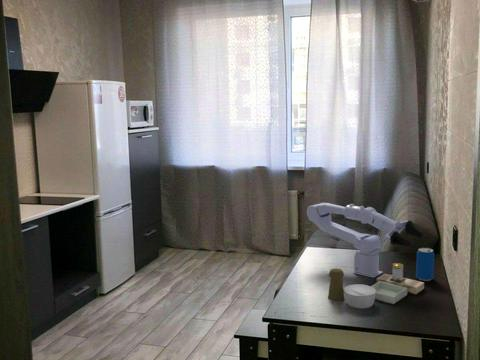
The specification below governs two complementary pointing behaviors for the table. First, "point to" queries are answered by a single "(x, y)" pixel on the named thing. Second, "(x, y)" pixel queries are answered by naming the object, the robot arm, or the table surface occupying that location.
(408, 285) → the wooden block with hole
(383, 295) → the tray
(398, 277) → the white and gold cylinder
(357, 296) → the ramekin
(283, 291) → the table surface
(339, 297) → the cork
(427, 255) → the beverage can
